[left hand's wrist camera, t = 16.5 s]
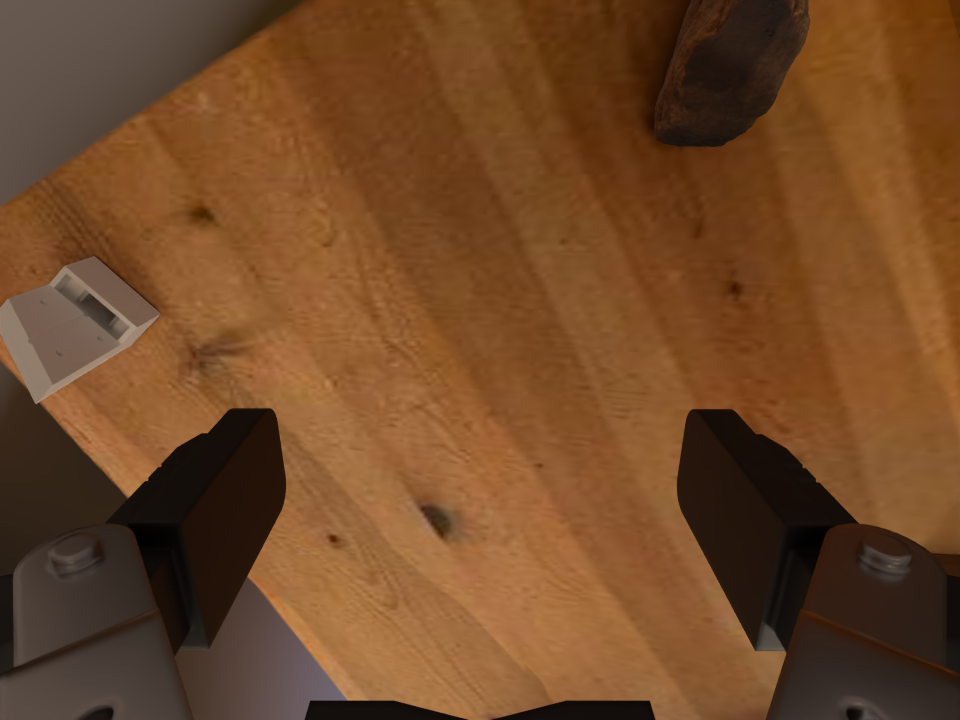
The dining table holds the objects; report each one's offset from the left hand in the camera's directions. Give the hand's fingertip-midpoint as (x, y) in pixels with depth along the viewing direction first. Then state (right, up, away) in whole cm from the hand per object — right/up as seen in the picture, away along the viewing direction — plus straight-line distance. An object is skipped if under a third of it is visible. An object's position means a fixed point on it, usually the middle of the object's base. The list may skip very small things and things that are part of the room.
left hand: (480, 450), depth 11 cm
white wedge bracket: (-27, +6, +31) cm, 41 cm away
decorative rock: (+14, +22, +25) cm, 36 cm away
